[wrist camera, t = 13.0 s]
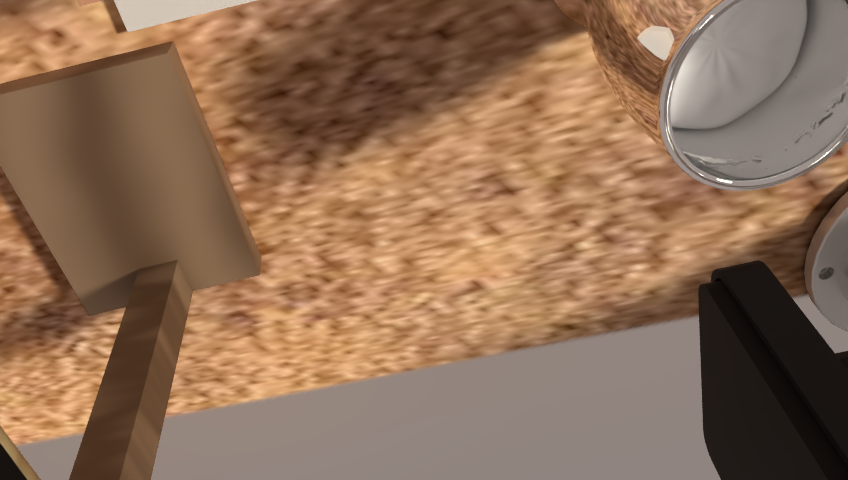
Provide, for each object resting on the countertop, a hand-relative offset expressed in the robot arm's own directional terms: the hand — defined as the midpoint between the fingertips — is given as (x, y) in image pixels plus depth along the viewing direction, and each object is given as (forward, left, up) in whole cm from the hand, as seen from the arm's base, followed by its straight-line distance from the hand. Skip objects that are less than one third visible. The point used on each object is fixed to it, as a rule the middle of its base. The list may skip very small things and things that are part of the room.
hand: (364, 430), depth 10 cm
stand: (+12, +8, -27) cm, 31 cm away
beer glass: (-12, +3, -27) cm, 30 cm away
